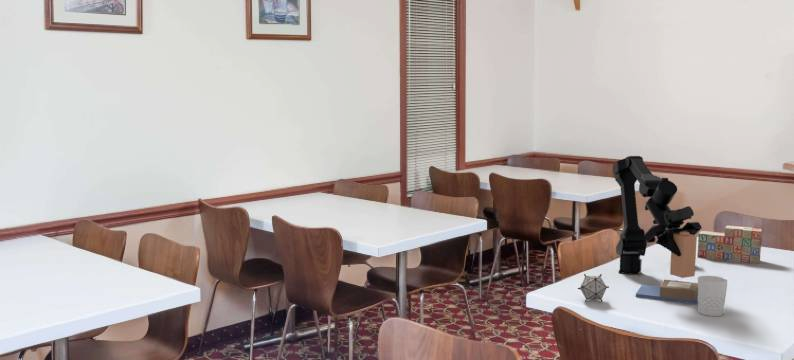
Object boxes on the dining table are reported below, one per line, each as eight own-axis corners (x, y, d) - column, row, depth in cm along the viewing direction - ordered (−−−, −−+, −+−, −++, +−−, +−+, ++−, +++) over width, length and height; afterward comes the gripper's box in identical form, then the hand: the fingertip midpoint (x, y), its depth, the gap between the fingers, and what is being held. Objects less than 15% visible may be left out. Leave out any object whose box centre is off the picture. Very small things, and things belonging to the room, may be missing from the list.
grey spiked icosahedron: (596, 314, 241) (601, 294, 234) (571, 300, 244) (575, 280, 237) (610, 295, 246) (616, 274, 239) (585, 282, 249) (590, 261, 242)
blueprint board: (635, 296, 246) (636, 283, 246) (641, 287, 257) (642, 275, 257) (705, 305, 238) (706, 291, 237) (708, 295, 249) (709, 282, 248)
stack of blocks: (696, 257, 302) (698, 225, 301) (699, 254, 308) (701, 222, 306) (758, 264, 292) (761, 230, 291) (760, 260, 298) (762, 228, 296)
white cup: (691, 309, 234) (692, 275, 232) (717, 308, 234) (719, 275, 233) (703, 317, 226) (705, 282, 224) (730, 316, 226) (732, 282, 225)
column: (670, 274, 246) (672, 231, 245) (682, 272, 248) (684, 230, 247) (682, 277, 242) (684, 234, 240) (694, 276, 244) (697, 233, 242)
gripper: (653, 199, 242) (678, 242, 233) (698, 196, 250) (725, 237, 241) (633, 221, 250) (657, 263, 241) (678, 217, 258) (703, 257, 249)
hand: (686, 254), depth 243 cm, fingers closed on column, 5 cm apart
